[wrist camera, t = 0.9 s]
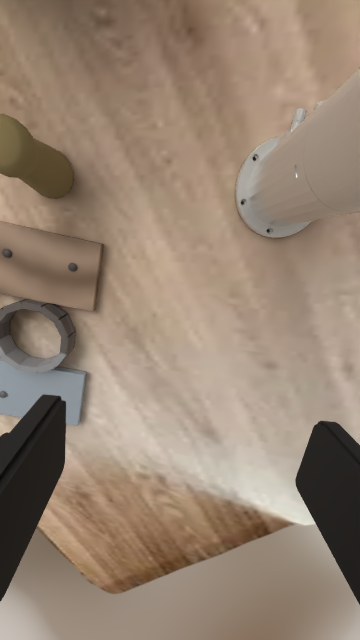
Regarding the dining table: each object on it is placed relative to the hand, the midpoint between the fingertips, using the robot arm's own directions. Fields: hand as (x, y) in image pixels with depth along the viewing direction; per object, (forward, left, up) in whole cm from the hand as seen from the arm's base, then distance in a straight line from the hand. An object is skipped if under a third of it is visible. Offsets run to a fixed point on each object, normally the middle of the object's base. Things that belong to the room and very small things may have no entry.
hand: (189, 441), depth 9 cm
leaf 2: (+19, -19, -31) cm, 41 cm away
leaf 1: (+4, -19, -31) cm, 37 cm away
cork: (-12, -19, -31) cm, 39 cm away
